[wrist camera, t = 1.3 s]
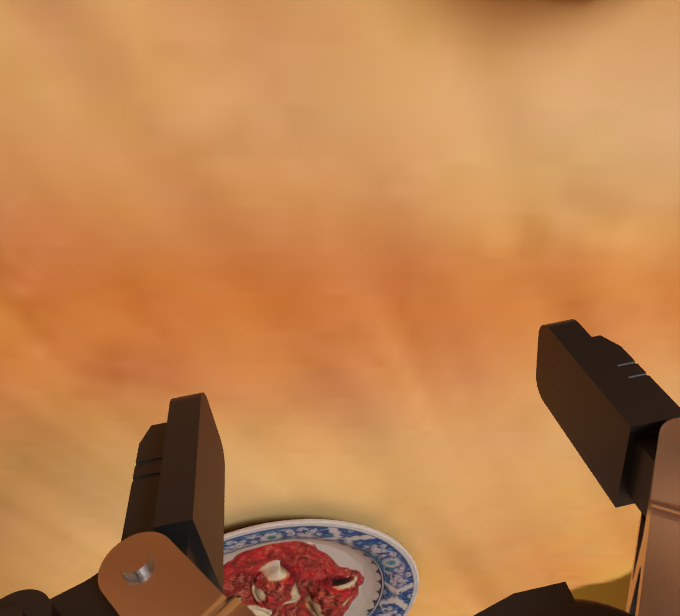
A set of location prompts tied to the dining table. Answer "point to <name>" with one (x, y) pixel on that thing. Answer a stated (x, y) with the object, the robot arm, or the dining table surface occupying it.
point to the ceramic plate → (318, 570)
